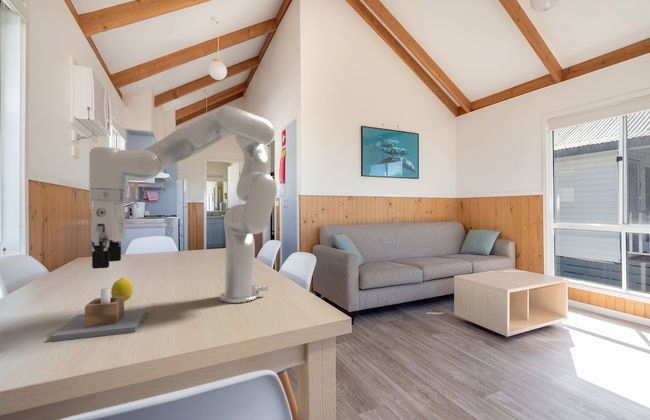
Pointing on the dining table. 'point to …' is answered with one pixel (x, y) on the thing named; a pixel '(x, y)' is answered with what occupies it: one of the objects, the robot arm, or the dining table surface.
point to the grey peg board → (78, 329)
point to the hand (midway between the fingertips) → (107, 264)
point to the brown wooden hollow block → (104, 312)
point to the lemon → (122, 289)
